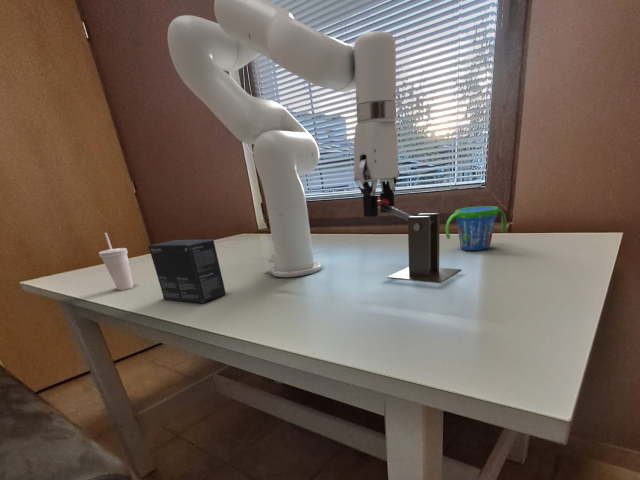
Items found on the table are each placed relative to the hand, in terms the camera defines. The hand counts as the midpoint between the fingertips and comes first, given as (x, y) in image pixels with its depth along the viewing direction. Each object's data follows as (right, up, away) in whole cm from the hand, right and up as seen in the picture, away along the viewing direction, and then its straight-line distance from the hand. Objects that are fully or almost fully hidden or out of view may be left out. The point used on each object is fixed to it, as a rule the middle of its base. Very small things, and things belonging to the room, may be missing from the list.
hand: (379, 213), depth 80 cm
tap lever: (+4, -2, -2) cm, 5 cm away
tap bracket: (+9, -14, -1) cm, 17 cm away
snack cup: (+28, -2, +22) cm, 35 cm away
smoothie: (-64, -13, +18) cm, 68 cm away
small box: (-40, -17, +4) cm, 44 cm away
